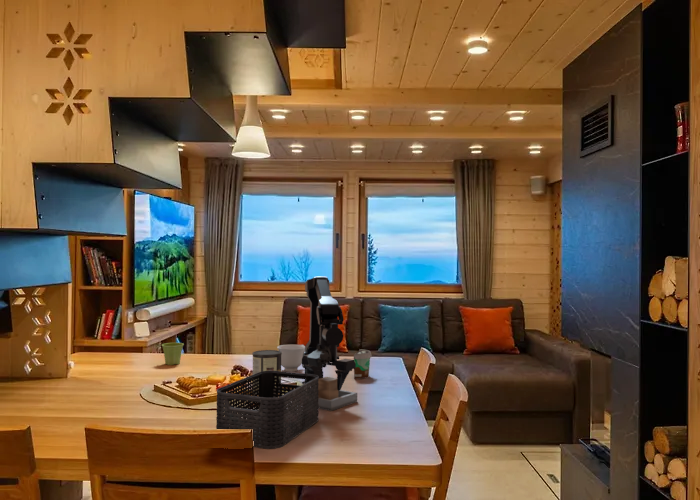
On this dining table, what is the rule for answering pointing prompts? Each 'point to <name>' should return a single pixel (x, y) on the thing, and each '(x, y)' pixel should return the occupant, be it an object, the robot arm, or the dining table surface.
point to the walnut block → (327, 388)
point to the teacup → (291, 356)
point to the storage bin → (269, 407)
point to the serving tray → (338, 400)
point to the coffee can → (267, 361)
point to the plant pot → (172, 353)
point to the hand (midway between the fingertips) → (327, 388)
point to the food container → (362, 364)
